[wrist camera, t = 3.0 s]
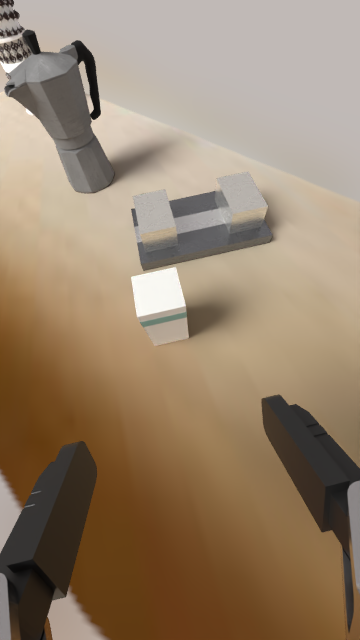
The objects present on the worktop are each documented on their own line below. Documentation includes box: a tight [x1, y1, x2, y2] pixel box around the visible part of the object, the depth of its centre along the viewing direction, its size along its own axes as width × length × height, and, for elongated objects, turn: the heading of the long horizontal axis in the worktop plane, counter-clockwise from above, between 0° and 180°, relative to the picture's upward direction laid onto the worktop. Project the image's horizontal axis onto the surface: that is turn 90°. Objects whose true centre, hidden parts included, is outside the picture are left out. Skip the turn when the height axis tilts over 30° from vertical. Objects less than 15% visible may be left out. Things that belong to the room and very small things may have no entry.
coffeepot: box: [4, 30, 115, 193], centre depth 34 cm, size 15×9×18 cm, turn 145°
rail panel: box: [131, 172, 272, 271], centre depth 32 cm, size 20×12×5 cm, turn 103°
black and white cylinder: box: [0, 0, 35, 116], centre depth 45 cm, size 9×9×25 cm
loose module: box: [131, 267, 189, 346], centre depth 24 cm, size 4×4×9 cm
